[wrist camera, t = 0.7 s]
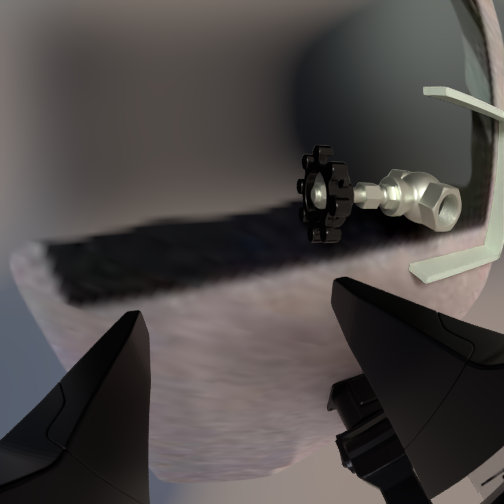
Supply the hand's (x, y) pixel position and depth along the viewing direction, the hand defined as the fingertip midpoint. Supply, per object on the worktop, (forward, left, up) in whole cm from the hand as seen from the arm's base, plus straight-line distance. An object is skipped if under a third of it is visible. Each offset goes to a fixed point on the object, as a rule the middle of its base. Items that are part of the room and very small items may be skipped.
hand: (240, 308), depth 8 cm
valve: (0, -12, -13) cm, 18 cm away
